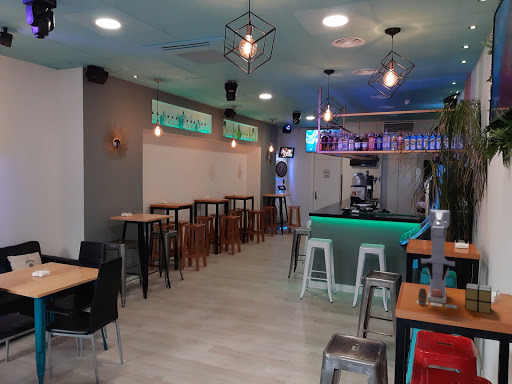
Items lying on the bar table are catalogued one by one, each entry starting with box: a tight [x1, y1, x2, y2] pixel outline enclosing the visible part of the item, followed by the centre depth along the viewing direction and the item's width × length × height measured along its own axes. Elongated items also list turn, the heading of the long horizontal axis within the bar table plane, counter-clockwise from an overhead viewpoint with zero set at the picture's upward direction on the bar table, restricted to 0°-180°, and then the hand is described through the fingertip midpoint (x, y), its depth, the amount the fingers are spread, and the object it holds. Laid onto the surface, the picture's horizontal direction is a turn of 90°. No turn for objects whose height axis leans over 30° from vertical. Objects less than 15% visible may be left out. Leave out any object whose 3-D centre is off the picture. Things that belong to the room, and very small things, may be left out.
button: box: [431, 289, 443, 298], centre depth 187 cm, size 5×5×3 cm
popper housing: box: [426, 292, 447, 304], centre depth 187 cm, size 8×8×2 cm
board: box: [416, 299, 458, 309], centre depth 180 cm, size 6×18×1 cm, turn 64°
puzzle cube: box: [464, 283, 493, 314], centre depth 176 cm, size 10×10×10 cm
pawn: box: [418, 287, 428, 305], centre depth 182 cm, size 3×3×7 cm
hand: (437, 279), depth 186 cm, fingers open, 4 cm apart
